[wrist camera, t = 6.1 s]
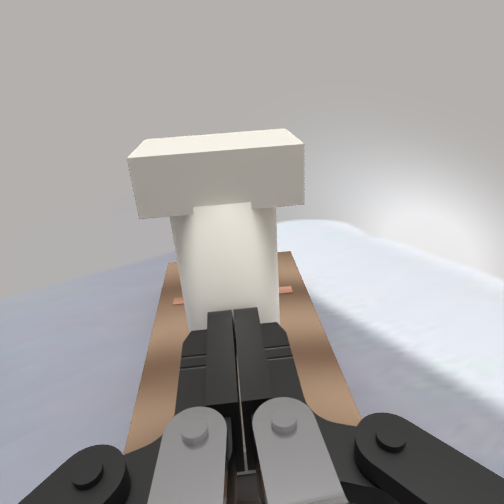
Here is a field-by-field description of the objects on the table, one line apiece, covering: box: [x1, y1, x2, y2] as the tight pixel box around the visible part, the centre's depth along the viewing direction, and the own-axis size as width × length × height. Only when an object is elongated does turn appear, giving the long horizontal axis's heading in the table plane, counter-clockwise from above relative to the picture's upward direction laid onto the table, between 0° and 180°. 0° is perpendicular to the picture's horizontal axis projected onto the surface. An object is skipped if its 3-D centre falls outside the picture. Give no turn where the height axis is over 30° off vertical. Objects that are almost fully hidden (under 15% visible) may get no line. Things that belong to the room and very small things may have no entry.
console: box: [124, 251, 362, 504], centre depth 20 cm, size 26×10×4 cm, turn 5°
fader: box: [127, 129, 304, 475], centre depth 13 cm, size 4×4×12 cm
